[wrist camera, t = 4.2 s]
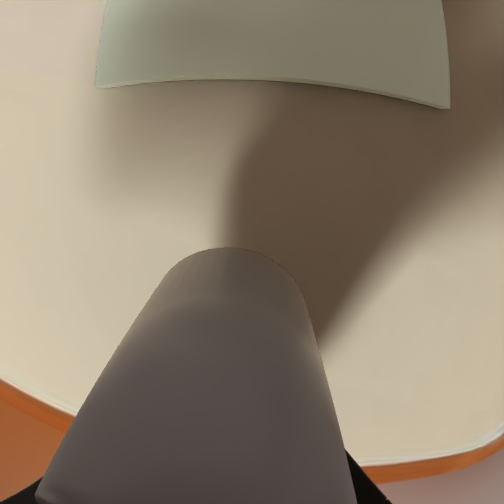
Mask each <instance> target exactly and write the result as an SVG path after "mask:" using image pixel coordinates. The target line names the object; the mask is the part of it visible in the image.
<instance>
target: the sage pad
mask: <svg viewBox="0 0 504 504" xmlns="http://www.w3.org/2000/svg"><path fill="white" fill-rule="evenodd" d="M205 79H243V80H269V81H284V82H296V83H307V84H316V85H324V86H332V87H339V88H346V89H352V90H358V91H364V92H370V93H375V94H380V95H385V96H390V97H394V98H399V99H403V100H408V101H412V102H416V103H420V104H423V105H427V106H431V107H435V108H438V109H449V108H450V71H449V56H448V45H447V35H446V27H445V19H444V13H443V6H442V0H107V3H106V8H105V13H104V18H103V24H102V30H101V36H100V43H99V50H98V58H97V66H96V76H95V86H96V87H99V88H102V89H104V88H110V87H117V86H125V85H133V84H142V83H152V82H165V81H180V80H205Z"/></svg>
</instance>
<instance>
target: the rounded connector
mask: <svg viewBox="0 0 504 504" xmlns="http://www.w3.org/2000/svg"><path fill="white" fill-rule="evenodd" d="M35 498H36V501H37V503H38V504H357V500H356V495H355V491H354V487H353V482H352V478H351V473H350V469H349V465H348V461H347V456H346V452H345V448H344V444H343V440H342V436H341V432H340V428H339V424H338V420H337V416H336V412H335V408H334V404H333V400H332V396H331V393H330V389H329V385H328V381H327V378H326V374H325V370H324V366H323V363H322V359H321V356H320V352H319V348H318V345H317V341H316V338H315V334H314V331H313V327H312V323H311V320H310V317H309V313H308V310H307V306H306V303H305V299H304V297H303V294H302V292H301V290H300V288H299V286H298V285H297V283H296V281H295V280H294V279H293V278H292V277H291V275H290V274H289V273H288V272H287V271H286V270H285V269H284V268H282V267H281V266H280V265H278V264H277V263H276V262H274V261H273V260H271V259H269V258H267V257H265V256H263V255H261V254H258V253H255V252H253V251H248V250H244V249H238V248H214V249H208V250H204V251H201V252H197V253H195V254H193V255H190V256H188V257H186V258H185V259H183V260H182V261H180V262H179V263H177V264H176V265H175V266H174V267H173V268H171V270H170V271H169V272H168V273H167V274H166V275H165V277H164V278H163V280H162V281H161V283H160V284H159V285H158V287H157V288H156V290H155V291H154V293H153V294H152V296H151V297H150V299H149V300H148V302H147V303H146V305H145V306H144V308H143V309H142V311H141V312H140V314H139V315H138V317H137V318H136V320H135V321H134V323H133V324H132V326H131V327H130V329H129V331H128V332H127V334H126V335H125V337H124V338H123V340H122V341H121V343H120V345H119V346H118V348H117V349H116V351H115V352H114V354H113V356H112V357H111V359H110V360H109V362H108V364H107V365H106V367H105V369H104V370H103V372H102V373H101V375H100V377H99V378H98V380H97V382H96V383H95V385H94V387H93V388H92V390H91V392H90V393H89V395H88V397H87V398H86V400H85V402H84V403H83V405H82V407H81V409H80V410H79V412H78V414H77V416H76V417H75V419H74V421H73V423H72V424H71V426H70V428H69V430H68V431H67V433H66V435H65V437H64V439H63V440H62V442H61V444H60V446H59V448H58V450H57V452H56V454H55V455H54V457H53V459H52V461H51V463H50V465H49V467H48V469H47V470H46V473H45V475H44V476H43V478H42V480H41V482H40V484H39V486H38V488H37V490H36V493H35Z"/></svg>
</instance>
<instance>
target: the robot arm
mask: <svg viewBox="0 0 504 504" xmlns="http://www.w3.org/2000/svg"><path fill="white" fill-rule="evenodd" d="M345 452H346V456H347V461H348V465H349V469H350V473H351V478H352V482H353V487H354V491H355V495H356V500H357V504H392V503H391V502H390V500H386V499H387V497H386V496H385V495H384V494H383V493H382V492H381V490H380V489H379V488H378V487H377V486H376V485H375V484H374V482H373V481H372V480H371V479H370V478H369V477H368V476H367V474H366V473H365V472H364V471H363V470H362V469H361V467H360V466H359V465H358V464H357V463H356V461H355V460H354V459H353V458H352V457H351V456H350V454H349V453H348V452H347V451H346V450H345ZM42 478H43V477H41V478H40V479H39V480H37V481H36V482H34V483H33V484H31V485H30V486H28V487H27V488H25V489H23V490H22V491H20V492H18V493H16V494H15V495H13V496H11V497H9V498H7V499H5V500H3V501H1V502H0V504H38V503H37V501H36V498H35V493H36V490H37V488H38V486H39V484H40V482H41V480H42Z"/></svg>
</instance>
